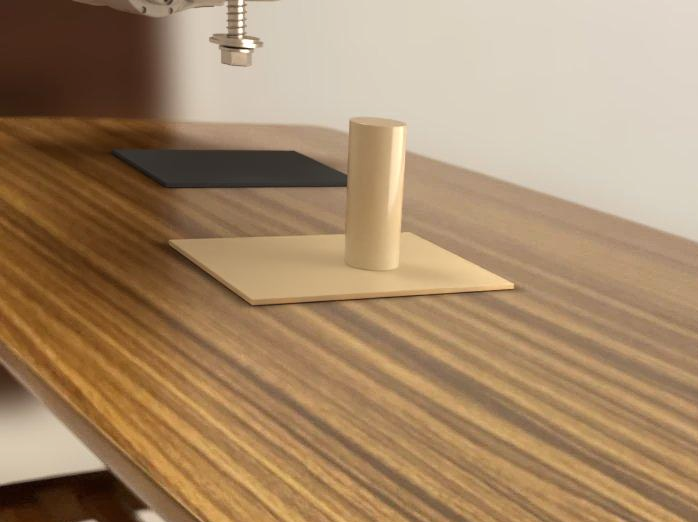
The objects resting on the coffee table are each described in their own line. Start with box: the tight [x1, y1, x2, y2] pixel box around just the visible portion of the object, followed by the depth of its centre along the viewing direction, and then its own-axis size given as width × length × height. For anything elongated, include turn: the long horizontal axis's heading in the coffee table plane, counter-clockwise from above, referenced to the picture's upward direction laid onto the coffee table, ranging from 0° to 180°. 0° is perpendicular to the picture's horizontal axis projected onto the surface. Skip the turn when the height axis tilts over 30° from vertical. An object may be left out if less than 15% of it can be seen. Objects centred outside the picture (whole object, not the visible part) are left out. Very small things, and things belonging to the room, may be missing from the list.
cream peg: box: [344, 116, 408, 271], centre depth 88 cm, size 4×4×10 cm
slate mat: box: [111, 148, 347, 188], centre depth 119 cm, size 19×16×1 cm
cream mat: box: [168, 231, 515, 306], centre depth 90 cm, size 20×16×1 cm
